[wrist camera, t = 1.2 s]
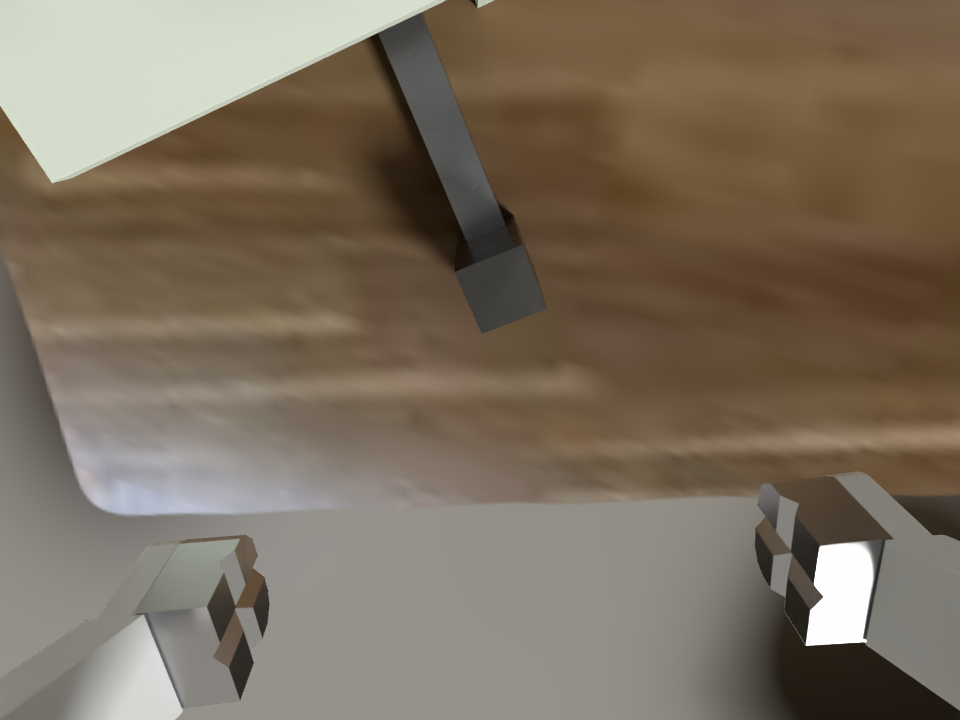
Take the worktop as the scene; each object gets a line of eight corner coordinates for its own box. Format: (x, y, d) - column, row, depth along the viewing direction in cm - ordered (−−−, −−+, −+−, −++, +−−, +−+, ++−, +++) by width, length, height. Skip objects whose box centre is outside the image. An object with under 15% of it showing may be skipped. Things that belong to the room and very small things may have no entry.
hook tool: (376, -137, 26) (350, -194, 20) (534, 269, 33) (546, 308, 27) (216, -54, 27) (150, -87, 21) (402, 321, 34) (388, 369, 28)
